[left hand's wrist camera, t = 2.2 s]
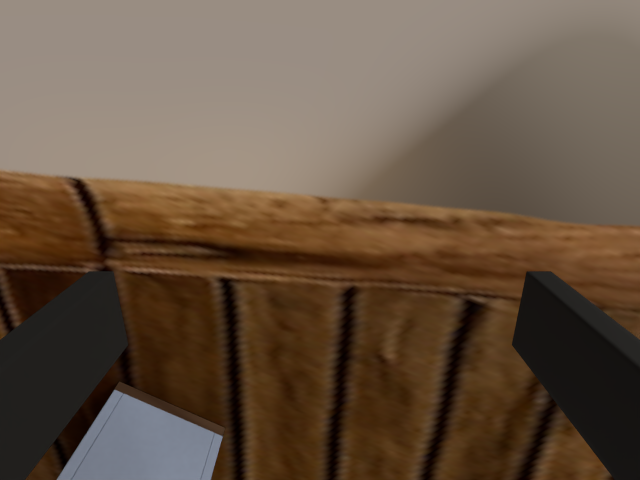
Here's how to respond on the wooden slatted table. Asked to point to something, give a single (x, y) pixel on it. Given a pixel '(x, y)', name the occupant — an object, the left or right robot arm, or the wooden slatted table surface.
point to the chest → (144, 442)
